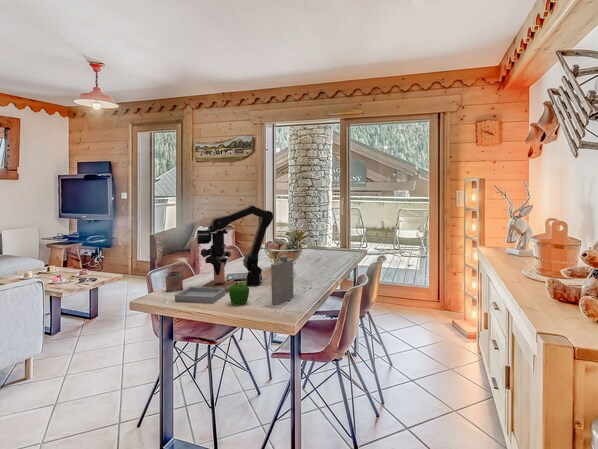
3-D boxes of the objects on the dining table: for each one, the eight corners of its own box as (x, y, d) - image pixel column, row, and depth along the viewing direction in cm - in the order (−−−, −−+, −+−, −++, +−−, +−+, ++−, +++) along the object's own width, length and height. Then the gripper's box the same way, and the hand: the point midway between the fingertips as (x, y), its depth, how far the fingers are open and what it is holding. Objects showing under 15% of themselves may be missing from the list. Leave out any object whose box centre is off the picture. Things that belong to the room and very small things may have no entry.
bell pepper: (225, 303, 156) (224, 281, 155) (240, 299, 162) (239, 277, 161) (237, 308, 150) (237, 284, 149) (252, 303, 156) (252, 280, 156)
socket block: (237, 284, 187) (237, 281, 186) (227, 292, 173) (227, 288, 173) (212, 283, 189) (212, 280, 189) (200, 291, 175) (200, 287, 175)
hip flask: (288, 294, 169) (288, 252, 167) (296, 295, 167) (295, 253, 165) (270, 304, 155) (269, 258, 153) (278, 305, 153) (278, 259, 151)
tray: (225, 294, 170) (225, 288, 170) (213, 303, 156) (213, 296, 156) (189, 292, 173) (189, 286, 173) (174, 301, 159) (174, 295, 159)
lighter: (166, 292, 173) (165, 272, 172) (165, 291, 176) (164, 271, 175) (183, 290, 177) (183, 270, 176) (182, 288, 180) (181, 269, 179)
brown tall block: (224, 280, 182) (224, 262, 181) (221, 282, 178) (221, 264, 177) (217, 279, 183) (216, 262, 182) (214, 281, 179) (213, 263, 178)
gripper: (210, 240, 189) (211, 269, 191) (194, 245, 171) (195, 277, 172) (231, 240, 187) (231, 270, 189) (216, 246, 169) (217, 278, 171)
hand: (219, 273), depth 180 cm, fingers closed on brown tall block, 4 cm apart
